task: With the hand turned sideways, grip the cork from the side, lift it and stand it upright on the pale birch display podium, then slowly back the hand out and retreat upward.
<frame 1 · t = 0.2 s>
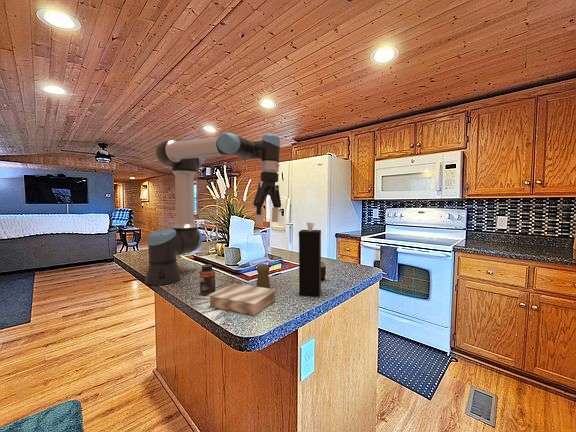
hand: (267, 222, 112), 27 cm above the countertop, tool pointing down, fingers open, 13 cm apart
display podium: (243, 303, 94), on the countertop
supplement bottle: (207, 293, 105), on the countertop
tissue box: (310, 293, 104), on the countertop
cork: (263, 291, 107), on the countertop
mate gourd: (317, 280, 122), on the countertop
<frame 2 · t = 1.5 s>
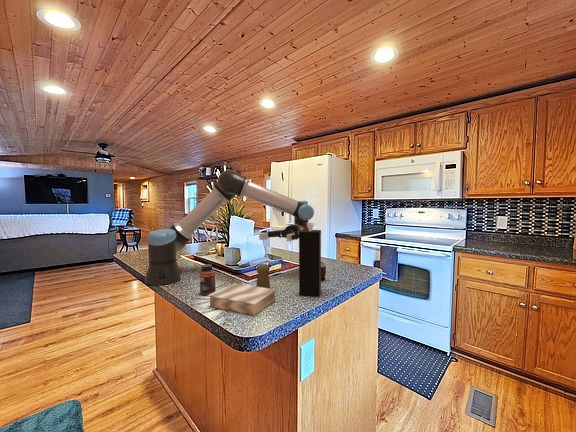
hand: (273, 237, 114), 21 cm above the countertop, tool horizontal, fingers open, 13 cm apart
nothing on the countertop moved.
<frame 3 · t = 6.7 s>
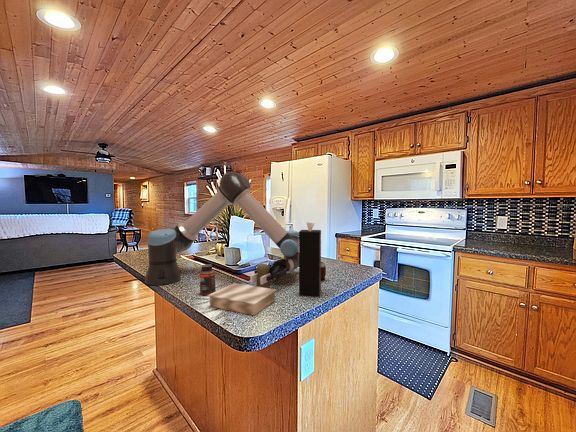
hand: (256, 280, 101), 6 cm above the countertop, tool horizontal, fingers closed on cork, 4 cm apart
cork: (263, 291, 107), on the countertop, touching gripper
everything else where it was.
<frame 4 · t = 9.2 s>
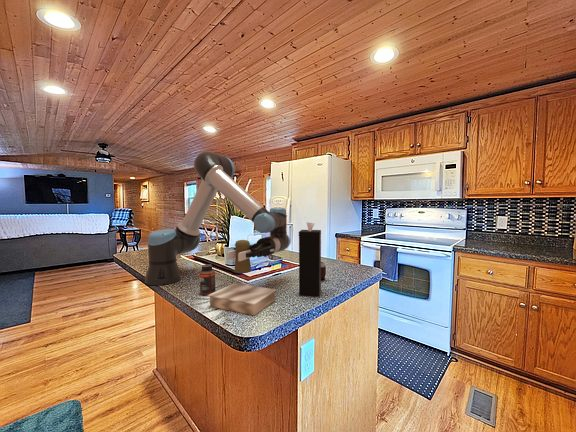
hand: (233, 256, 88), 18 cm above the countertop, tool horizontal, fingers closed on cork, 4 cm apart
cork: (242, 271, 94), point 11 cm above the countertop, touching gripper
everything else where it was.
when the fingers open (10 cm above the countertop, at t = 11.8 s): cork moves 5 cm, resting on display podium.
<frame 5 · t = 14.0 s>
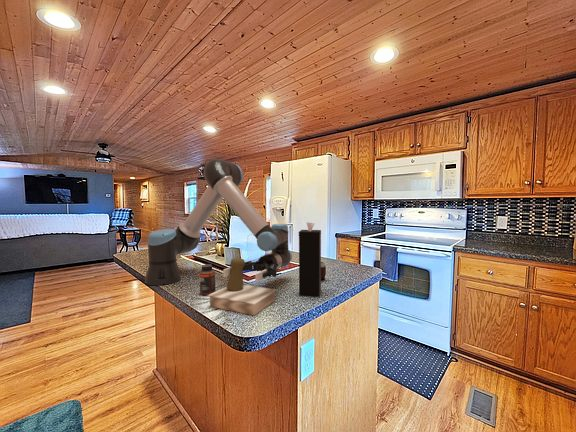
hand: (239, 275, 92), 11 cm above the countertop, tool horizontal, fingers open, 13 cm apart
cork: (234, 288, 97), point 4 cm above the countertop, touching display podium, gripper
everything else where it was.
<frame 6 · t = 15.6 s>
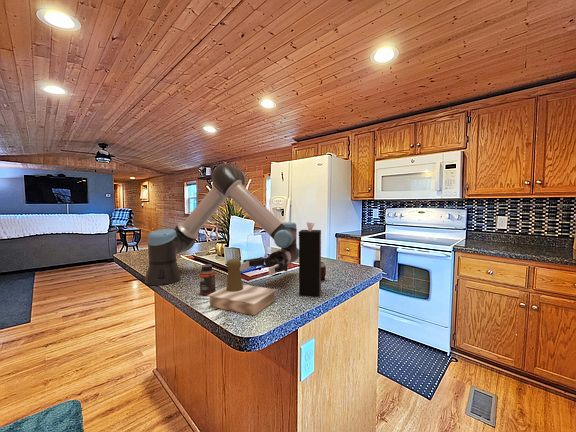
hand: (253, 269, 99), 11 cm above the countertop, tool horizontal, fingers open, 13 cm apart
cork: (234, 289, 97), point 4 cm above the countertop, touching display podium
everything else where it was.
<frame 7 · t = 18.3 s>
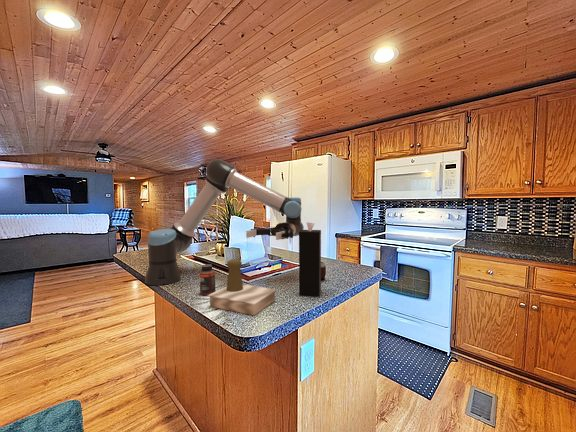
hand: (261, 235, 104), 23 cm above the countertop, tool horizontal, fingers open, 13 cm apart
nothing on the countertop moved.
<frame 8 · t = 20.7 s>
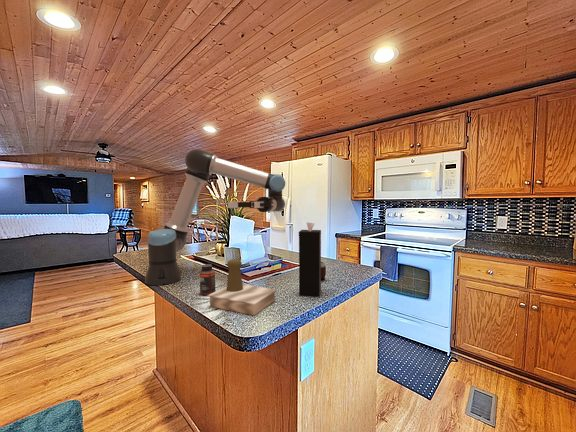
hand: (241, 204, 112), 35 cm above the countertop, tool horizontal, fingers open, 13 cm apart
nothing on the countertop moved.
at the end: cork inside the target area on the display podium (5.2 cm from its centre), point 3.8 cm above the display podium's base; cork tilted 0°; the gripper is holding nothing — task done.
